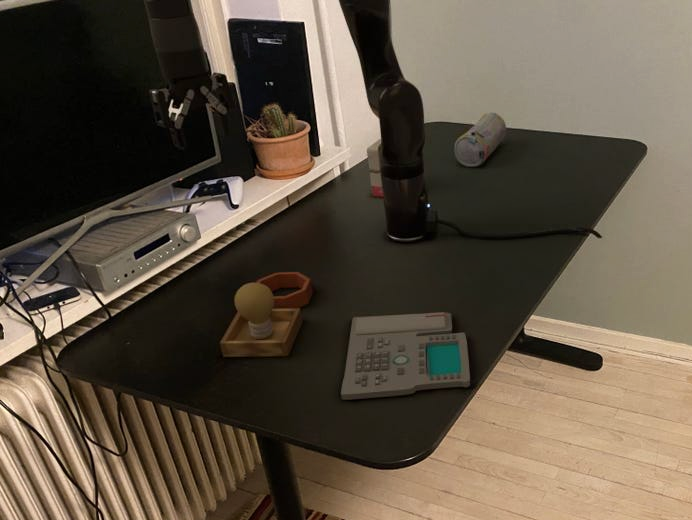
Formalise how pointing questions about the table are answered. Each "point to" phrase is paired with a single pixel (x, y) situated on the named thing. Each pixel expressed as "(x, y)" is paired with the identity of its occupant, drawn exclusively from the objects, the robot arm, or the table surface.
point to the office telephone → (404, 355)
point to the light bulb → (256, 308)
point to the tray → (276, 344)
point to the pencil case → (480, 140)
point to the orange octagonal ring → (289, 281)
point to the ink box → (375, 169)
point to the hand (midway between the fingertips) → (203, 142)
